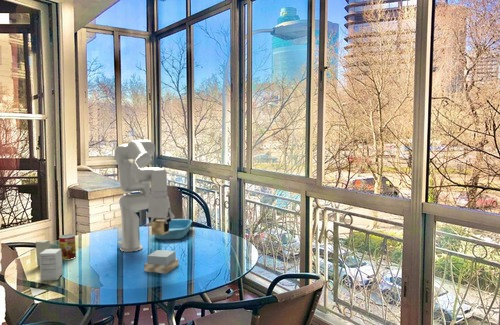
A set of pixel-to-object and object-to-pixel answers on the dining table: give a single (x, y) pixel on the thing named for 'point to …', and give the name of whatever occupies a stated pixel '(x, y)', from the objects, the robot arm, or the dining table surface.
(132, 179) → the robot arm
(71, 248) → the canned food
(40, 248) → the box
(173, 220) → the casserole dish
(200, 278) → the dining table surface
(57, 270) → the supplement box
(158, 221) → the block
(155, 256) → the slate block
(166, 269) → the birch slab
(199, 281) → the dining table surface
